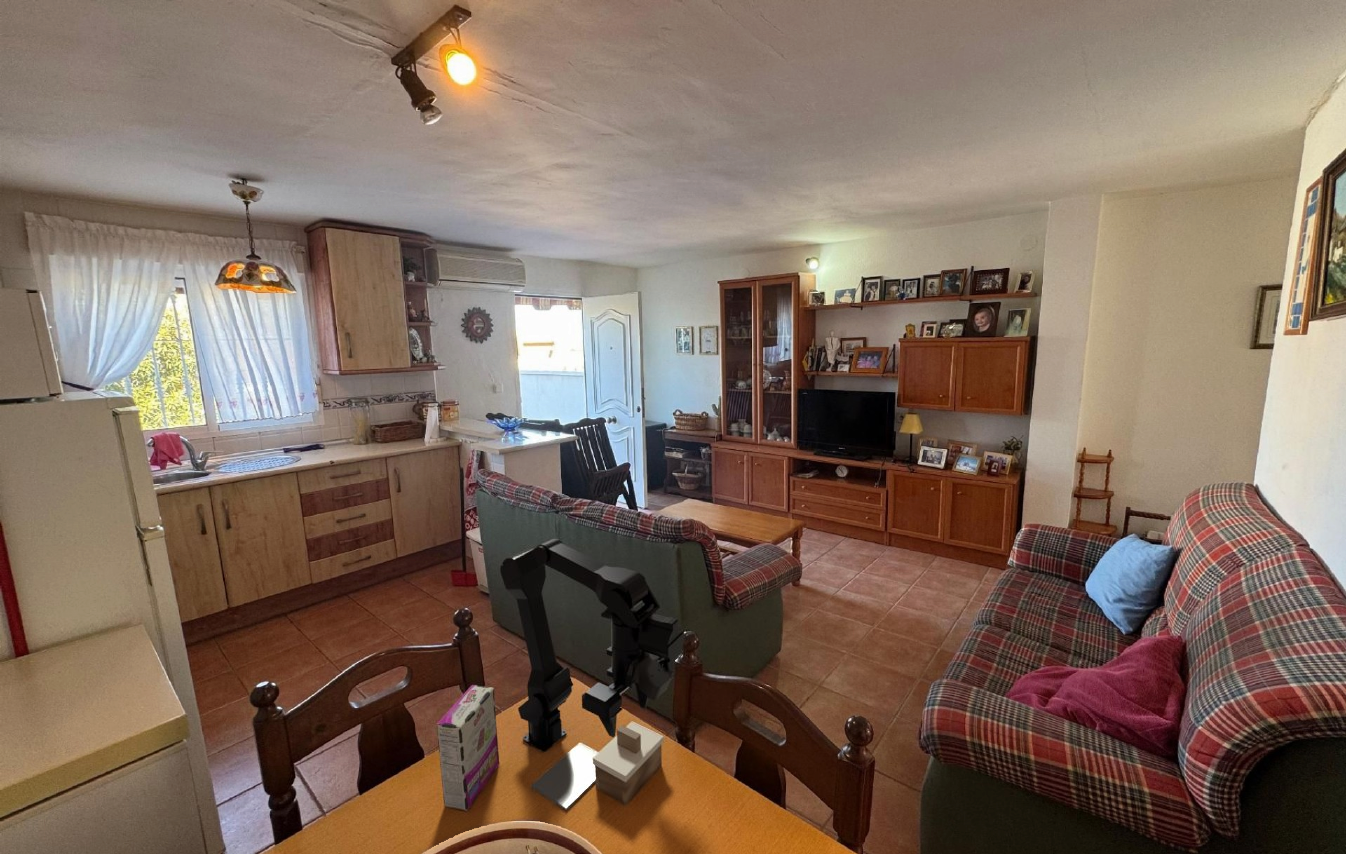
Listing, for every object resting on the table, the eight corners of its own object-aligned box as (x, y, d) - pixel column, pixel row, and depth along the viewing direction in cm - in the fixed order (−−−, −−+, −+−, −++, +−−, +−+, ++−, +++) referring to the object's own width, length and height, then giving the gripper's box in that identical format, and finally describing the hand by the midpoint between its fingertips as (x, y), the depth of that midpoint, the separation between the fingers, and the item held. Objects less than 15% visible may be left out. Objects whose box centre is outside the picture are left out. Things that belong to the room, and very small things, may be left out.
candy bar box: (476, 760, 105) (471, 683, 103) (500, 764, 104) (495, 686, 102) (441, 808, 94) (435, 723, 92) (467, 813, 93) (461, 726, 91)
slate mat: (530, 787, 99) (530, 785, 98) (580, 744, 109) (580, 742, 109) (566, 810, 94) (566, 808, 94) (614, 763, 104) (614, 760, 104)
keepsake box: (625, 805, 95) (625, 780, 94) (595, 788, 98) (595, 763, 98) (661, 765, 104) (661, 742, 103) (632, 750, 108) (632, 728, 107)
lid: (625, 787, 94) (625, 760, 93) (592, 768, 98) (592, 742, 97) (663, 746, 103) (663, 721, 102) (632, 731, 107) (631, 707, 107)
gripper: (630, 685, 85) (631, 773, 87) (692, 633, 100) (691, 709, 103) (578, 662, 91) (580, 745, 93) (644, 616, 106) (644, 689, 109)
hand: (628, 721), depth 99 cm, fingers open, 9 cm apart
